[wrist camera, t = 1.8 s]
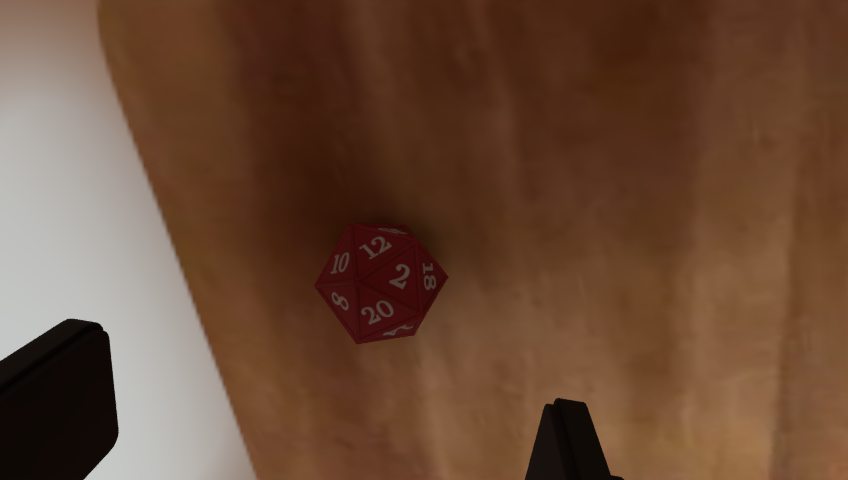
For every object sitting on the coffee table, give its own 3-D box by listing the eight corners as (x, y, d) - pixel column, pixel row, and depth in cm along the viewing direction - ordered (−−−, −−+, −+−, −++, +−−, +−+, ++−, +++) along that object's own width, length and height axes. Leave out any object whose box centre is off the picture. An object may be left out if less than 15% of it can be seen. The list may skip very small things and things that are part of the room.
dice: (377, 325, 19) (353, 390, 15) (318, 227, 18) (277, 271, 14) (465, 288, 18) (463, 348, 15) (408, 182, 17) (391, 217, 13)
